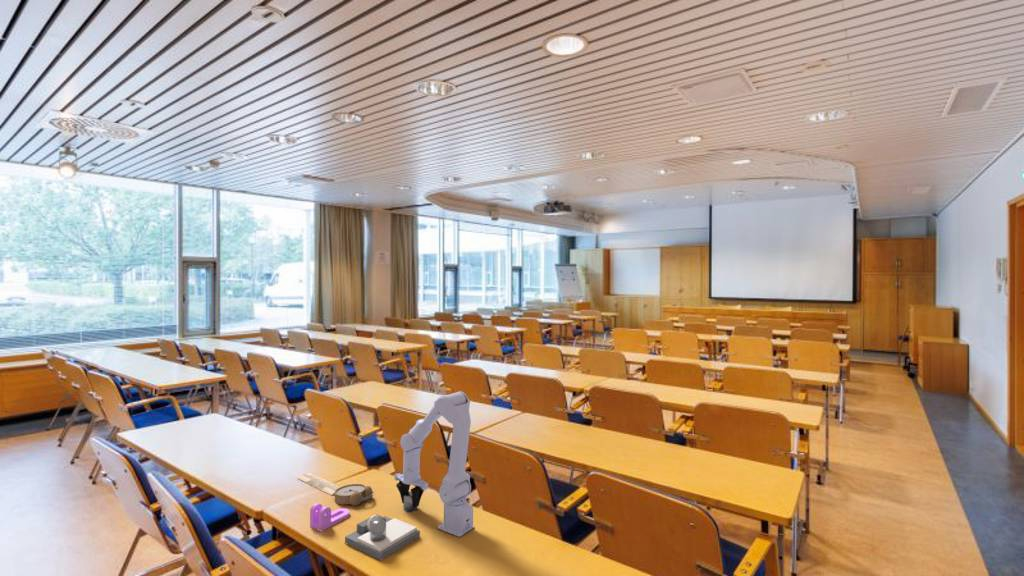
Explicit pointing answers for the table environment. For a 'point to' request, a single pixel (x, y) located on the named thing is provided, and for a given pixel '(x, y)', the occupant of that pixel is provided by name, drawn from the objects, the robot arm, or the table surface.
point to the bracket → (326, 516)
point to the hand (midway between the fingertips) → (410, 504)
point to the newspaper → (319, 483)
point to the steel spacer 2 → (408, 502)
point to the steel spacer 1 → (377, 529)
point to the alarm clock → (352, 494)
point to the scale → (395, 539)
